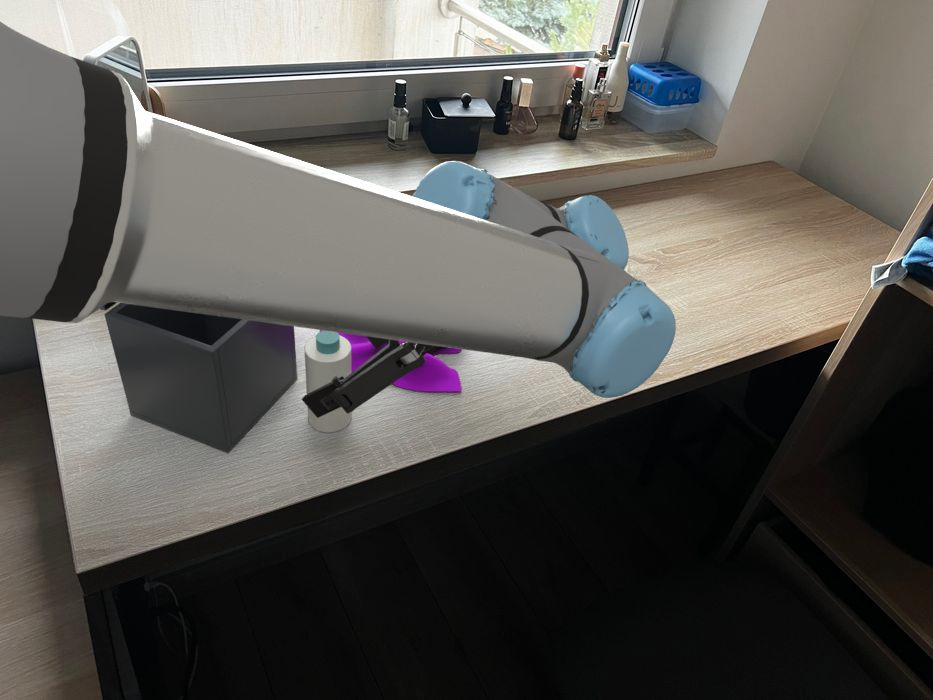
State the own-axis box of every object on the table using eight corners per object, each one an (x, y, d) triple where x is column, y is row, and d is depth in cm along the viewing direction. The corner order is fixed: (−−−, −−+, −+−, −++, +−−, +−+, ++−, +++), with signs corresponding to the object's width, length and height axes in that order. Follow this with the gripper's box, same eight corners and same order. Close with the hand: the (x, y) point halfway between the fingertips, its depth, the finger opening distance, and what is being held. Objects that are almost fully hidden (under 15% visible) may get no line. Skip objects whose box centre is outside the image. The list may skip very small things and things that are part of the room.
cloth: (297, 350, 98) (294, 313, 94) (377, 290, 111) (378, 255, 107) (436, 417, 90) (440, 380, 86) (505, 344, 103) (510, 309, 99)
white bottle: (338, 438, 86) (336, 356, 78) (299, 424, 87) (294, 342, 79) (358, 411, 90) (359, 331, 82) (322, 398, 91) (319, 318, 83)
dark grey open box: (297, 379, 93) (291, 283, 84) (228, 453, 82) (212, 352, 73) (208, 347, 96) (193, 251, 87) (130, 415, 85) (103, 313, 76)
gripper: (451, 407, 62) (305, 467, 74) (537, 270, 80) (409, 337, 93) (397, 339, 60) (257, 413, 72) (498, 215, 78) (372, 291, 91)
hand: (342, 370), depth 83 cm, fingers open, 13 cm apart
